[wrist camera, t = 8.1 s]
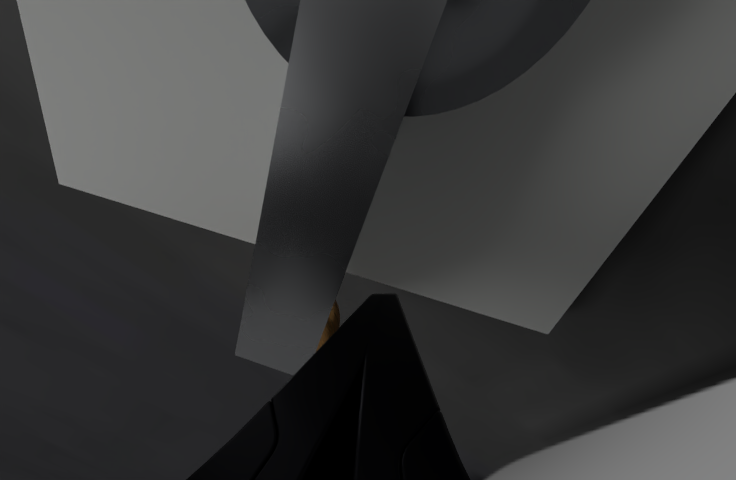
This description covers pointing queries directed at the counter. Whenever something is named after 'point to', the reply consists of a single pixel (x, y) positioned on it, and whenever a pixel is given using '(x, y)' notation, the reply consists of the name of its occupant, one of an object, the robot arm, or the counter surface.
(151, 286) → the counter surface
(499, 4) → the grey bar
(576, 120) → the white mechanism board
